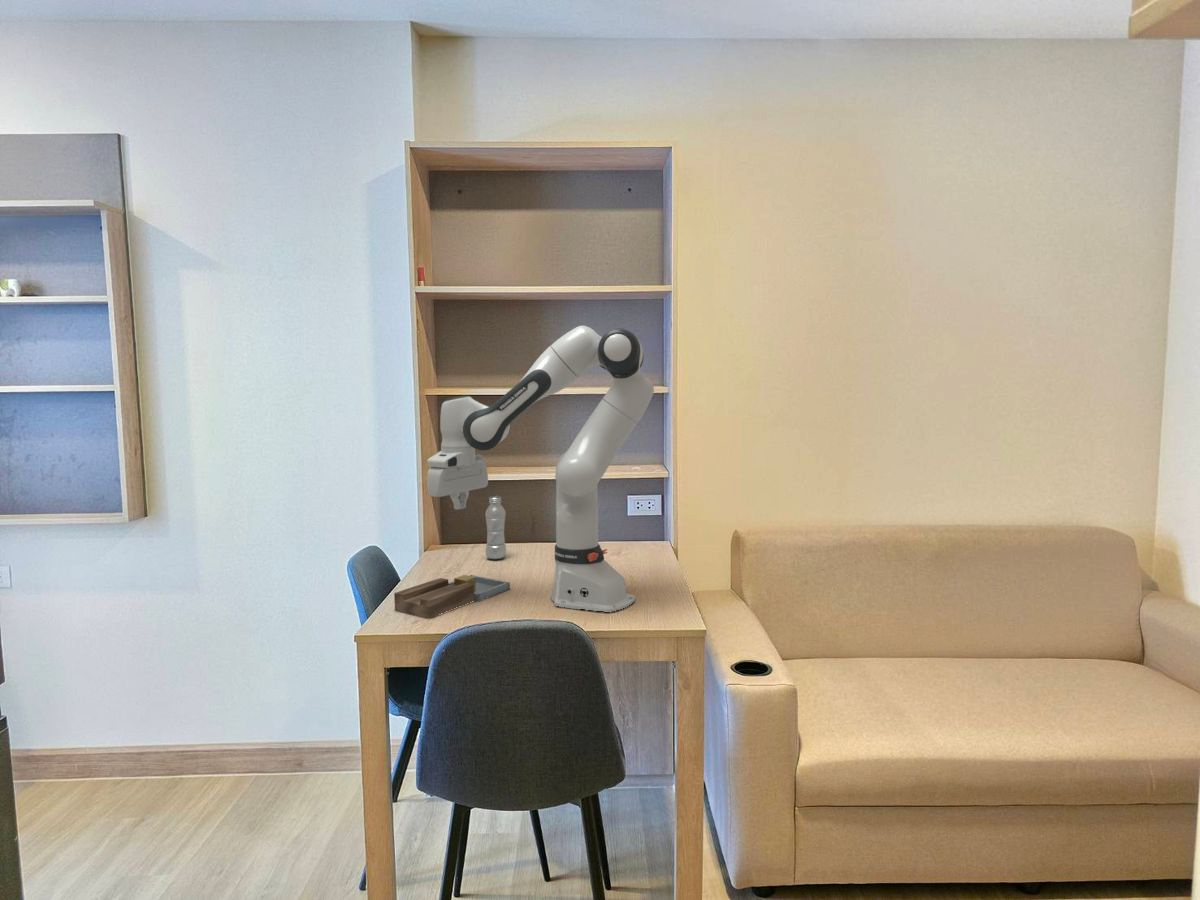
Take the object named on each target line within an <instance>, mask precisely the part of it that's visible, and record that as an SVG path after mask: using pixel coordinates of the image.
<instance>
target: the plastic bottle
mask: <svg viewBox="0 0 1200 900" xmlns="http://www.w3.org/2000/svg"><path fill="white" fill-rule="evenodd" d="M501 503H502V496H499V495H492V496H489V499H488V504H489V505H488V507H487V509H486V510H485V515H484V516H485V517H484V518H485V523H486V530H487V531H486V532H487V533H486V534H487V536H486V547H485V555H486V557H487V559H489V560H500V559H504V558H505V557H506V556H507V555H506V553H507V546H506V540H505V539H506V538H505V523H506V515H507V514H506V510H505V508H504V506H503V505H502V504H501Z"/></svg>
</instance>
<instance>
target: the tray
mask: <svg viewBox="0 0 1200 900" xmlns="http://www.w3.org/2000/svg"><path fill="white" fill-rule="evenodd" d="M469 576H473V577H475V579H476V592H474V602H476V601H479V602H481V601H480V600H482V599H484V600H486V599H485V598H487V597H489V598H491V597H490V596H492V597H494V596H497V595H499V594H502V593H504V591H505V592H507V591H509V590H510V589H511V588H510V587H511V583H510V581H505V580H501V579H495V578H489V577H484V576H478V575H473V574H471V575H469ZM448 584H449V585H451V586H454V580H452V581H448ZM506 590H507V591H506ZM501 592H502V593H501ZM498 593H499V594H498ZM496 594H497V595H496ZM493 595H494V596H493ZM487 599H488V598H487ZM482 601H483V600H482Z"/></svg>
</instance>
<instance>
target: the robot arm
mask: <svg viewBox="0 0 1200 900" xmlns="http://www.w3.org/2000/svg"><path fill="white" fill-rule="evenodd" d="M643 362H644V351H643V346H642V343H641V341H640V340H639V339H638V337H637V336H636V335H635V334H634V332H632V331H630V330H629V329H626V328H614V329H613V328H612V329H611V330H608V331H607V332H605V333H604V334H603V335H602V336H601V335H599V334H598V333H597V331H596V330H594V329H592V327H589V326H587V325H578V326H577V327H575V328H573V329H571V330H569V331H568V332H566V333H565V334H563V335H561V337H559V338H558V339H556V340H555V341H553V343H552V344H550V345H549V346H548V347H547V348H546V349H545V350H544V351H543V352H542V353H541V354H540V356H538V358H537V359H536V360H535V361H534V363H533V364H532V366H531V367H530V368H529V369H528V371H527V372H526V373H525V374H524V375H523V377H522V378H521V379H520V380H519V382H518V383H516V385H514V386H513V387H512V388H511V389H509V390H508V391H507V392H506V393H504V395H503V396H501V397H500V398H499V399H498V400H497V401H496V402H494V403H493V404H492V405H490V406H488V405H486V404H484V403H480V402H479V401H477V400H475V399H473V397H471V396H470V395H461V396H456V397H452V398H451V397H450V398H447V399H446V400H444V401H443V402H442V404H441V406H440V419H439V420H440V427H439V428H440V433H441V444H440V451H438V452H437V453H435V454H434V455H432V456H431V457H429V458H428V459H427V460H426V461H427V462H426V464H427V467H429V469H428V470H427V475H426V477H427V478H426V484H427V493H428V495H429V496H430V497H433V498H434V497H435V498H441V497H442V498H443V497H446V496H449V497H450V500H451V501H452V503H453V509H454V510H458V511H459V510H463V509H466V508H467V500H468V497H469V496H470V491H474V490H475V491H476V490H479V489H483V488H487V487H488V484H489V476H488V469H487V464H486V460H485V457H484V456H483V455H482V454H478V453H477V454H476V450H478V451H488V450H491V449H494V448H495V447H496V446H497V445H498V444H499V443H501V442H502V441H503V440H505V439H506V438H507V437H508V435H509V433H510V430H511V423H512V422H513V421H515V420H516V419H517V418H518V417H519V416H520V415H521V414H523V413H524V412H525V411H526V410H528V409H529V408H530V407H531V406H532V405H533V404H535V403H536V402H539V400H543V399H545V398H546V397H549V396H553V395H554V394H557V393H558V392H560V391H563V390H564V389H566V388H567V387H568V386H570V385H571V384H572V383H574V382H575V381H576V380H578V378H580V377H581V376H582V375H583V374H584V373H585V372H587V371H588V370H589V369H591V368H593V367H595V366H599V367H600V368H602V369H604V370H605V371H607V372H608V373H609V375H611V377H612V382H611V385H610V387H609V389H608V390H607V391H606V393H605V394H604V396H603V397H602V399H601V400H600V401H599V403H598V405H597V406H596V407H595V408H594V410H593V412H591V414H590V415H589V417H588V419H587V420H586V421H585V423H584V425H583V426H582V428H581V429H580V431H579V432H578V433H577V436H576V437H575V438H574V440H573V441H572V444H571V445H570V446H569V448H568V449H567V450H565V452H563V453H562V454H561V455H560V457H559V458H558V459H557V462H556V467H555V475H554V476H555V477H554V478H555V481H556V482H555V483H556V485H555V487H556V488H555V489H556V491H555V494H556V495H555V498H556V500H555V501H556V502H555V505H556V506H555V509H556V510H555V514H556V515H555V532H556V533H555V539H556V542H555V545H554V560H555V574H554V581H553V585H552V586H553V587H552V591H551V594H550V600H551V601H552V602H554V604H553V605H554V607H557V606H559V607H558V608H564V607H565V608H566V609H572V610H574V609H575V610H580V609H585V610H584V611H588V610H594V611H593V612H596V611H604V612H610V611H615V612H617V611H616V610H619V611H621V610H620V609H622V610H624V609H626V608H628V607H630V606H631V605H630V604H632V603H633V602H634V601H635V602H636V596H635V595H633V594H630V593H628V592H627V585H626V581H625V578H624V576H623V575H621V573H619V572H618V571H617V570H616V569H615V568H613V566H612V565H610V564H609V563H608V561H606V560H605V556H604V555H605V554H607V553H608V552H607V551H608V548H605V549H602V548H601V545H600V544H599V501H598V500H599V499H598V498H599V497H598V496H599V493H598V484H599V482H600V481H601V479H602V478H603V476H604V475H605V473H606V471H607V469H608V468H609V467H610V465H611V464H612V462H613V460H614V458H615V456H616V455H617V454H618V452H619V450H620V449H621V448H622V446H623V444H624V443H625V441H626V440H627V439H628V438H629V435H630V434H632V432H633V430H634V429H635V428H636V426H637V425H638V423H639V422H640V420H641V418H642V417H643V415H644V414H645V412H646V410H647V408H648V407H649V405H650V402H651V400H652V397H653V396H654V392H655V388H654V385H653V382H652V381H651V379H649V377H647V376H646V375H645V374H644V373H643V372H642V371H641V367H642V365H643ZM635 602H634V603H635ZM634 603H633V604H634ZM633 604H632V605H633ZM629 605H630V606H629ZM627 606H628V607H627ZM625 607H626V608H625ZM623 608H624V609H623ZM604 612H603V613H604ZM610 613H611V612H610Z"/></svg>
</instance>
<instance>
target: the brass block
mask: <svg viewBox="0 0 1200 900" xmlns="http://www.w3.org/2000/svg"><path fill="white" fill-rule="evenodd" d="M453 581H454V586H458V585H461V584H464V583H468V584H473V585H474V592H476V579H475V577H473V576H470V575H467V574H464V575H463V574H462V575H460V576H458V577H455V578H453Z"/></svg>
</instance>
